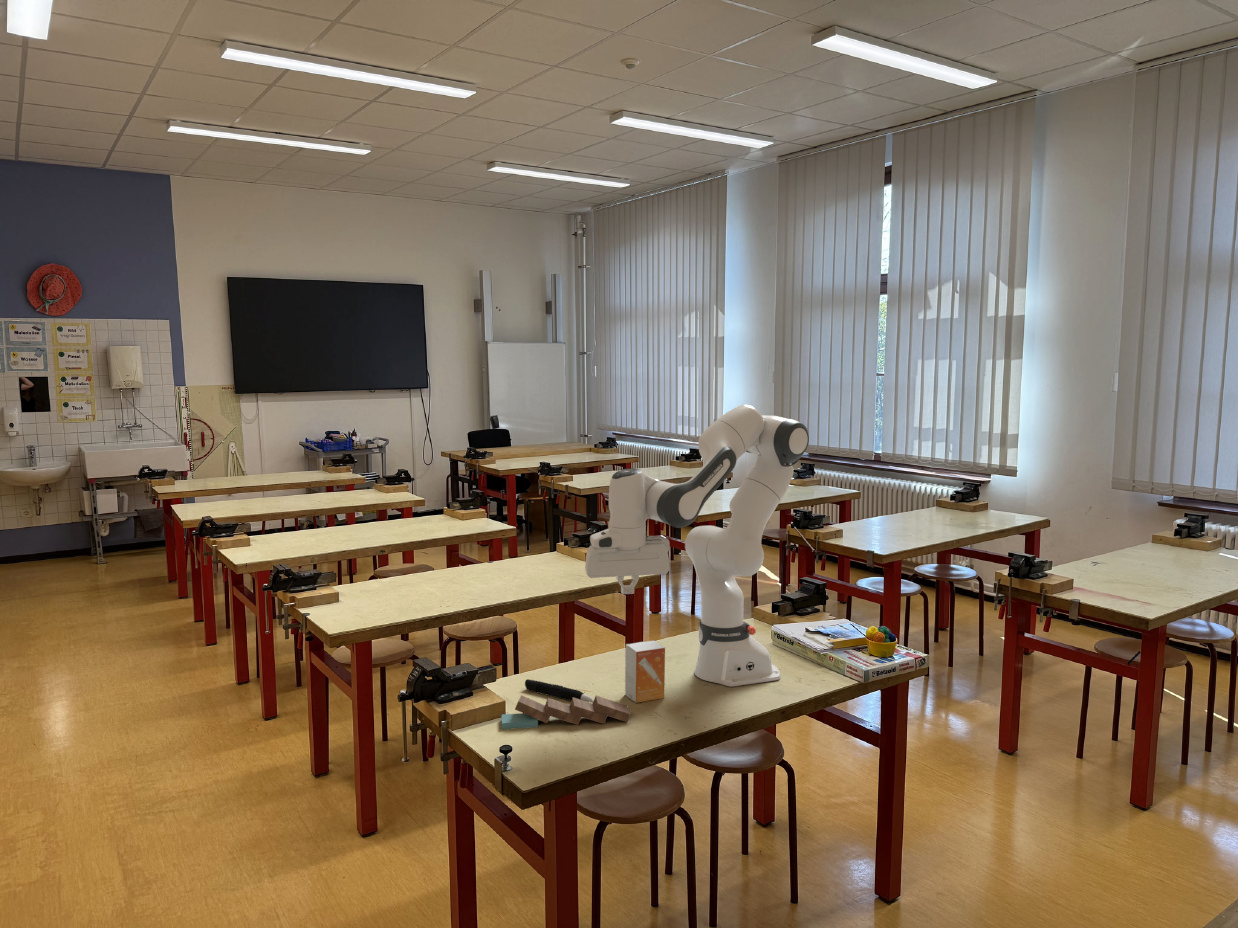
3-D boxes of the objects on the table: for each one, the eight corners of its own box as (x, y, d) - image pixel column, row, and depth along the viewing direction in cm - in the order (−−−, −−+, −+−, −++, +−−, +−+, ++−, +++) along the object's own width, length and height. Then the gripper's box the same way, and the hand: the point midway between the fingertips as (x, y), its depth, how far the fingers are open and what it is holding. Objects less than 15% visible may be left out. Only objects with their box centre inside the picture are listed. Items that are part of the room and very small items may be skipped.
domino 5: (627, 705, 196) (595, 695, 195) (630, 714, 191) (598, 703, 190) (624, 713, 196) (592, 703, 195) (627, 722, 191) (594, 711, 190)
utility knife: (601, 704, 202) (601, 692, 201) (592, 710, 198) (592, 698, 198) (530, 687, 213) (530, 676, 212) (520, 692, 209) (520, 681, 209)
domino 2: (552, 708, 194) (521, 694, 194) (550, 715, 189) (518, 701, 189) (549, 716, 194) (517, 702, 194) (546, 723, 189) (514, 709, 189)
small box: (635, 703, 202) (635, 651, 200) (624, 694, 207) (624, 643, 206) (665, 698, 205) (665, 647, 204) (653, 689, 211) (653, 639, 209)
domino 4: (604, 707, 195) (572, 697, 194) (607, 715, 190) (574, 705, 189) (601, 715, 195) (569, 705, 194) (604, 723, 190) (571, 713, 189)
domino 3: (580, 708, 194) (547, 697, 193) (581, 716, 189) (548, 706, 188) (577, 716, 194) (544, 705, 193) (578, 724, 189) (545, 714, 188)
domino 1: (537, 729, 189) (502, 731, 187) (536, 720, 193) (501, 722, 192) (537, 720, 188) (502, 723, 187) (536, 712, 193) (501, 714, 192)
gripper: (666, 532, 204) (666, 587, 206) (583, 536, 200) (584, 592, 202) (672, 537, 198) (672, 594, 200) (587, 541, 194) (588, 599, 196)
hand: (627, 593), depth 201 cm, fingers closed
